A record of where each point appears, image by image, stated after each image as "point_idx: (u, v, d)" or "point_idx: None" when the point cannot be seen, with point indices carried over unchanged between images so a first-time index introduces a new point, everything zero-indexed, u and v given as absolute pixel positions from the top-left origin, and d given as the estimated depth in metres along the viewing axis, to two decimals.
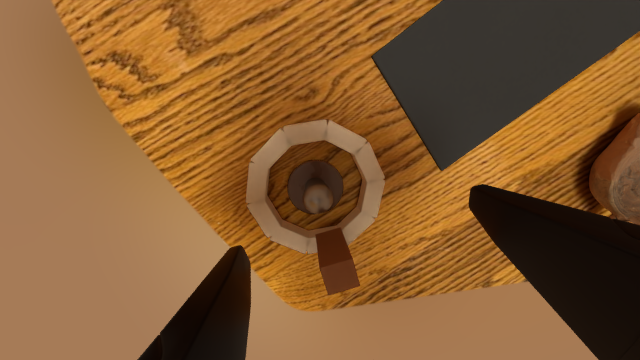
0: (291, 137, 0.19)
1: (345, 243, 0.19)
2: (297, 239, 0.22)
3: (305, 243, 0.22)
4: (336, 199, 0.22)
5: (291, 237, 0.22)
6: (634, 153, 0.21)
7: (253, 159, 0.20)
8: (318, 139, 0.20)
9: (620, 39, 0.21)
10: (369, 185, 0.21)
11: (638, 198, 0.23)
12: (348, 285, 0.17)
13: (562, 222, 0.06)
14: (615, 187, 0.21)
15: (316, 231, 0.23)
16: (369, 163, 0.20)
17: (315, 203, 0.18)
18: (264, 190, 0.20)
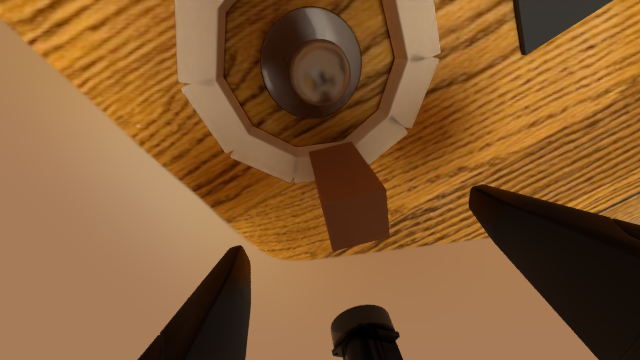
0: None
1: (365, 164, 0.11)
2: (278, 158, 0.13)
3: (291, 166, 0.13)
4: (347, 93, 0.13)
5: (267, 154, 0.13)
6: None
7: None
8: None
9: None
10: (411, 65, 0.12)
11: None
12: (370, 236, 0.10)
13: (562, 222, 0.06)
14: None
15: (310, 149, 0.14)
16: (420, 16, 0.11)
17: (317, 76, 0.09)
18: (213, 57, 0.10)
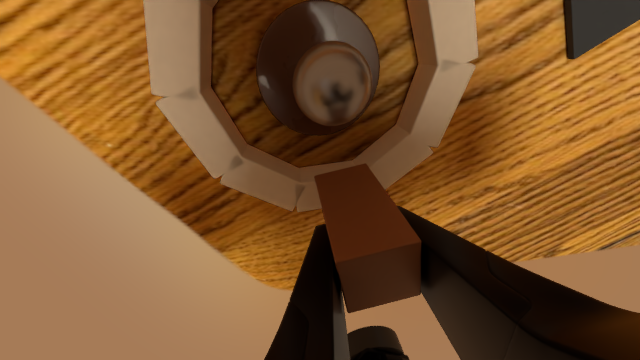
0: None
1: (388, 198, 0.08)
2: (277, 184, 0.11)
3: (293, 192, 0.11)
4: None
5: (265, 179, 0.11)
6: None
7: None
8: None
9: None
10: (441, 73, 0.09)
11: None
12: (396, 295, 0.07)
13: (442, 253, 0.06)
14: None
15: (315, 171, 0.12)
16: (455, 12, 0.08)
17: (329, 91, 0.06)
18: (195, 64, 0.08)
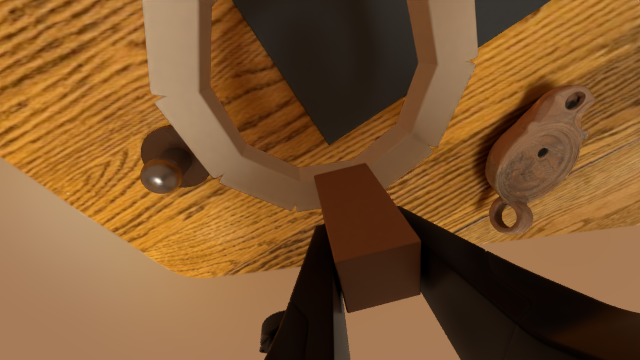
0: None
1: (387, 198, 0.08)
2: (277, 184, 0.11)
3: (293, 192, 0.11)
4: (205, 172, 0.19)
5: (265, 179, 0.11)
6: (527, 138, 0.19)
7: None
8: None
9: None
10: (441, 72, 0.09)
11: (526, 183, 0.22)
12: (396, 294, 0.07)
13: (442, 253, 0.06)
14: (502, 173, 0.21)
15: (315, 170, 0.12)
16: (455, 11, 0.08)
17: (149, 184, 0.15)
18: (194, 63, 0.08)
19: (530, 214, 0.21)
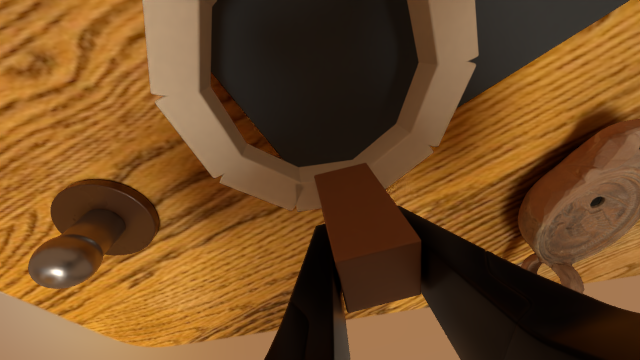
0: None
1: (388, 197, 0.08)
2: (277, 183, 0.11)
3: (293, 192, 0.11)
4: (147, 236, 0.14)
5: (265, 179, 0.11)
6: (583, 189, 0.14)
7: None
8: None
9: None
10: (441, 72, 0.09)
11: (571, 238, 0.17)
12: (396, 294, 0.07)
13: (442, 253, 0.06)
14: (545, 231, 0.15)
15: (315, 170, 0.12)
16: (456, 11, 0.08)
17: (40, 281, 0.10)
18: (195, 63, 0.08)
19: (580, 283, 0.16)
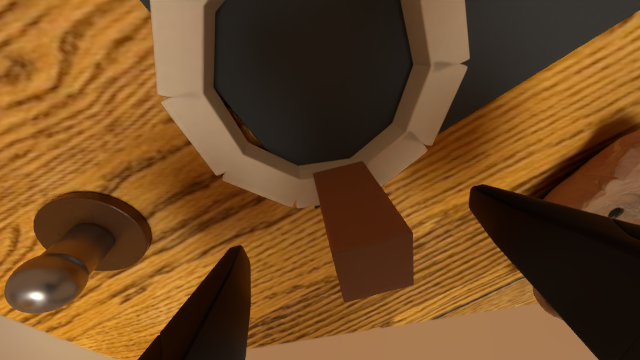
0: None
1: (382, 193, 0.09)
2: (277, 181, 0.11)
3: (293, 189, 0.11)
4: (138, 251, 0.14)
5: (265, 176, 0.11)
6: (603, 201, 0.13)
7: None
8: None
9: None
10: (434, 74, 0.10)
11: None
12: (390, 285, 0.08)
13: (562, 222, 0.06)
14: None
15: (314, 168, 0.12)
16: (447, 16, 0.09)
17: (17, 306, 0.09)
18: (199, 66, 0.09)
19: None
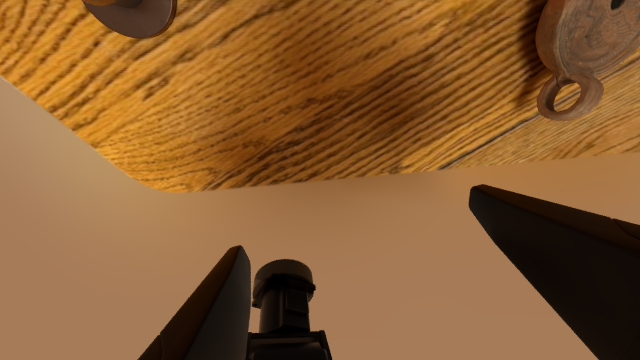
0: None
1: None
2: None
3: None
4: (164, 13, 0.14)
5: None
6: None
7: None
8: None
9: None
10: None
11: (590, 51, 0.17)
12: None
13: (562, 222, 0.06)
14: (565, 22, 0.15)
15: None
16: None
17: None
18: None
19: (600, 84, 0.16)
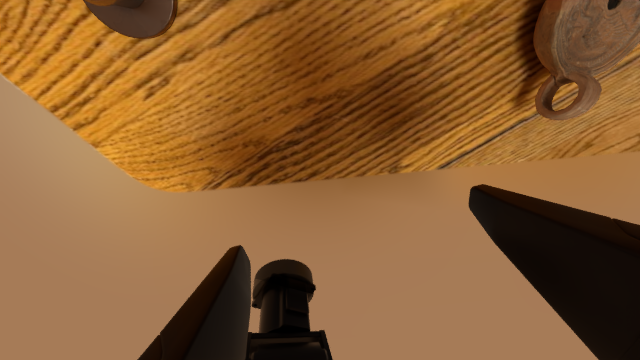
0: None
1: None
2: None
3: None
4: (165, 13, 0.14)
5: None
6: None
7: None
8: None
9: None
10: None
11: (588, 50, 0.17)
12: None
13: (562, 222, 0.06)
14: (563, 22, 0.15)
15: None
16: None
17: None
18: None
19: (597, 83, 0.16)
